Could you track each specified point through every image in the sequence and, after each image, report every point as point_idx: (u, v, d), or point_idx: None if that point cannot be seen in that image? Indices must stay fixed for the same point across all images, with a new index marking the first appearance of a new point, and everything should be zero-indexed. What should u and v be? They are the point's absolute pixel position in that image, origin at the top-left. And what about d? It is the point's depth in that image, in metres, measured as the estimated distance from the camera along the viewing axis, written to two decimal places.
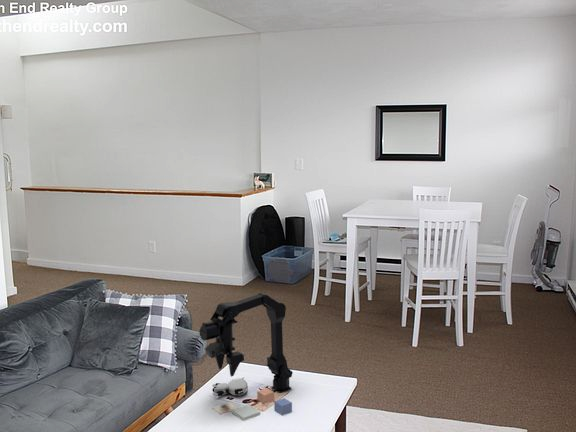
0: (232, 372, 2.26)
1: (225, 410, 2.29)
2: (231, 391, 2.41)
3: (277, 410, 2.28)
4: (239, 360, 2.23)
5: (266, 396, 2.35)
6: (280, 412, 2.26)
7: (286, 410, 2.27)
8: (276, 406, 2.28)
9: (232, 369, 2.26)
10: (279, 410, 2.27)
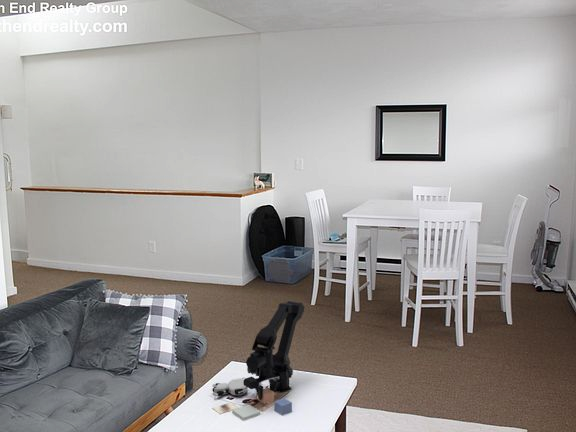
0: (258, 395, 2.36)
1: (225, 410, 2.29)
2: (231, 391, 2.41)
3: (277, 410, 2.28)
4: (247, 386, 2.31)
5: (266, 396, 2.35)
6: (280, 412, 2.26)
7: (286, 410, 2.27)
8: (276, 406, 2.28)
9: (257, 392, 2.36)
10: (280, 410, 2.27)
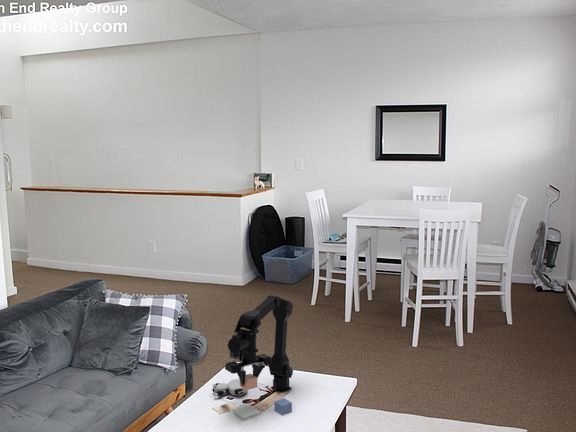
0: (241, 381, 2.25)
1: (225, 410, 2.29)
2: (231, 391, 2.41)
3: (277, 410, 2.28)
4: (229, 370, 2.20)
5: (249, 381, 2.24)
6: (280, 412, 2.26)
7: (286, 410, 2.27)
8: (276, 406, 2.28)
9: (239, 378, 2.24)
10: (280, 410, 2.26)
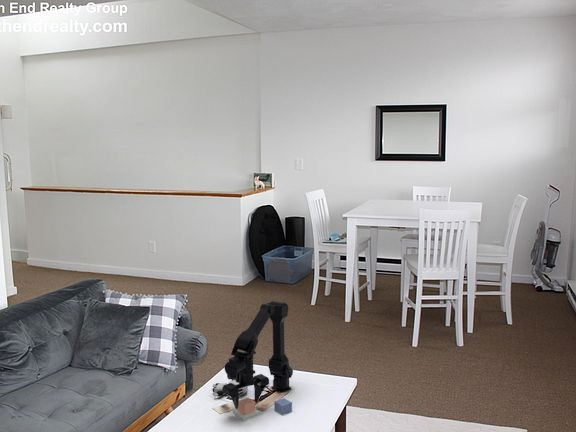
0: (234, 404, 2.23)
1: (225, 410, 2.29)
2: None
3: (277, 410, 2.28)
4: (226, 393, 2.19)
5: (247, 406, 2.23)
6: (280, 412, 2.26)
7: (287, 410, 2.27)
8: (276, 406, 2.28)
9: (233, 401, 2.23)
10: (280, 410, 2.26)
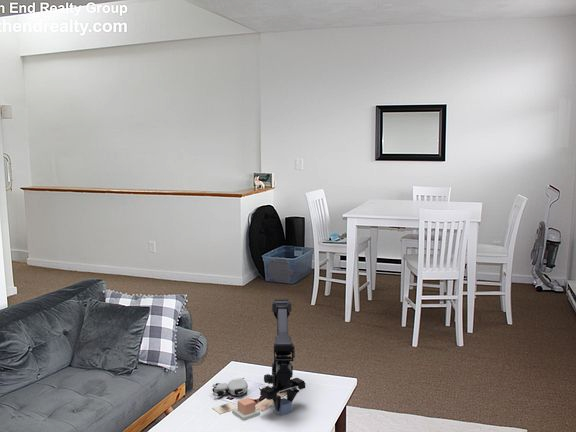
0: (276, 406, 2.27)
1: (225, 410, 2.29)
2: (231, 391, 2.41)
3: None
4: (265, 396, 2.22)
5: (247, 406, 2.23)
6: (280, 412, 2.26)
7: (287, 410, 2.27)
8: None
9: (274, 403, 2.27)
10: (280, 410, 2.26)
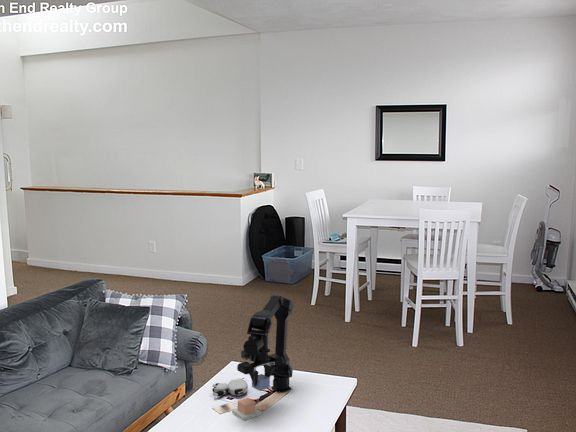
0: (253, 382, 2.23)
1: (225, 410, 2.29)
2: (231, 391, 2.41)
3: None
4: (242, 371, 2.18)
5: (247, 406, 2.23)
6: (258, 387, 2.23)
7: (264, 385, 2.24)
8: None
9: (252, 378, 2.23)
10: (257, 385, 2.23)
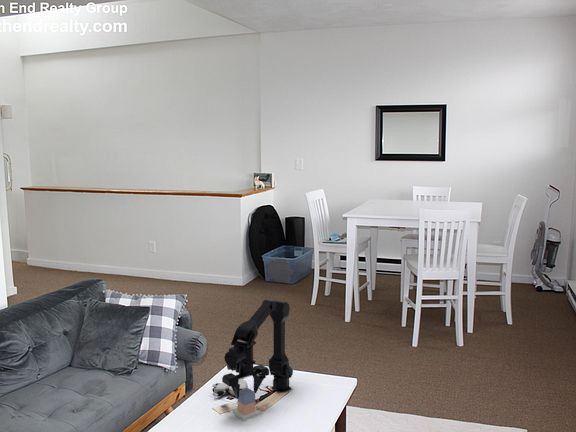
0: (235, 394, 2.23)
1: (225, 410, 2.29)
2: (231, 391, 2.41)
3: (240, 400, 2.25)
4: (226, 383, 2.19)
5: (247, 406, 2.23)
6: (243, 402, 2.23)
7: (249, 400, 2.24)
8: (239, 396, 2.25)
9: (234, 391, 2.23)
10: (242, 400, 2.23)
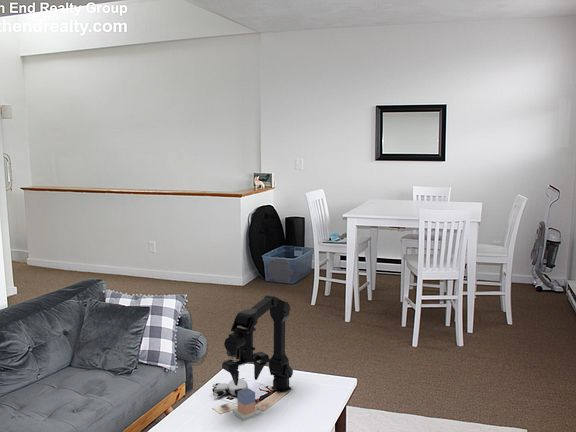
0: (234, 381, 2.22)
1: (225, 410, 2.29)
2: (231, 391, 2.41)
3: (240, 400, 2.25)
4: (226, 369, 2.18)
5: (247, 406, 2.23)
6: (243, 402, 2.23)
7: (249, 400, 2.24)
8: (239, 396, 2.25)
9: (233, 377, 2.22)
10: (242, 400, 2.23)
